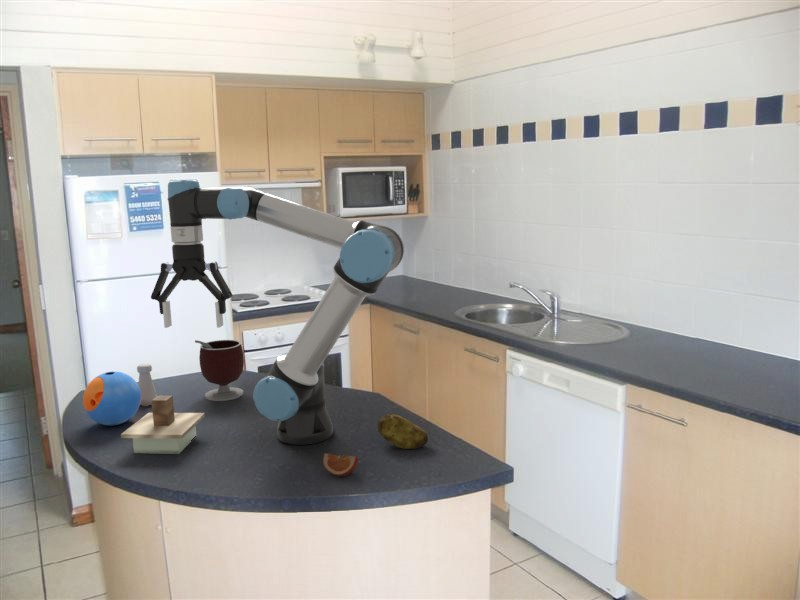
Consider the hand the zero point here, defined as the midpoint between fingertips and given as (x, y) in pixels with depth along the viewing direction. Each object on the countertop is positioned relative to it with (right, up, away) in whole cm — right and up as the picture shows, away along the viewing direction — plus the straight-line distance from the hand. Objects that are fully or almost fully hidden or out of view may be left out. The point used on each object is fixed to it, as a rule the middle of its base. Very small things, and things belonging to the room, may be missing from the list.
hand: (194, 326), depth 169 cm
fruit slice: (+38, -35, -11) cm, 53 cm away
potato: (+53, -32, +5) cm, 62 cm away
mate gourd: (-6, -25, +49) cm, 55 cm away
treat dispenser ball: (-31, -30, +25) cm, 50 cm away
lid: (-10, -27, +8) cm, 30 cm away
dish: (-10, -32, +9) cm, 35 cm away
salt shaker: (-28, -26, +42) cm, 57 cm away
